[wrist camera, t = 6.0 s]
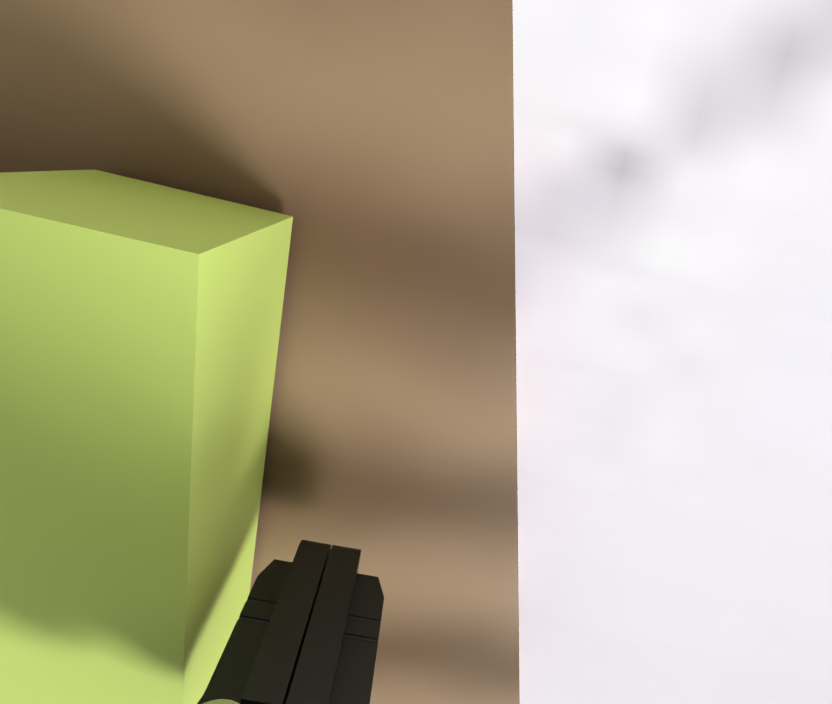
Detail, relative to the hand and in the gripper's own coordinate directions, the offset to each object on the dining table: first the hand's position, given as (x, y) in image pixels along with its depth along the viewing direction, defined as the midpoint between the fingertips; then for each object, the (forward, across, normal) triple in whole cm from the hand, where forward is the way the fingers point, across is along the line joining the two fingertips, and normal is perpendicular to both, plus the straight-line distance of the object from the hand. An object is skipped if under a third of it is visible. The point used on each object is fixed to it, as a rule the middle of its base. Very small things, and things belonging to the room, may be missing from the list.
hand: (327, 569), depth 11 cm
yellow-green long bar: (+1, +4, +2) cm, 5 cm away
